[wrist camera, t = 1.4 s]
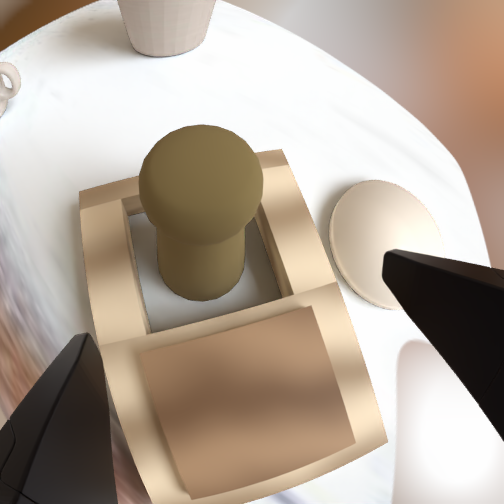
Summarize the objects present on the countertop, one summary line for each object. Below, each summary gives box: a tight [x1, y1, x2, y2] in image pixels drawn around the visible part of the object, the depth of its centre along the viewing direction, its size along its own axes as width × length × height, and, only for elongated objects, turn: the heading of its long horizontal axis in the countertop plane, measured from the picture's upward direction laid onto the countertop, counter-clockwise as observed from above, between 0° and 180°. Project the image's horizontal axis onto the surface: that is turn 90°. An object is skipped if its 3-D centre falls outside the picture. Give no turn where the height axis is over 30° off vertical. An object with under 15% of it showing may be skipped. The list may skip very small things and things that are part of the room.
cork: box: [138, 125, 264, 301], centre depth 16 cm, size 6×6×11 cm
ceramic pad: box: [329, 180, 445, 310], centre depth 24 cm, size 11×11×1 cm
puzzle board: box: [79, 149, 388, 504], centre depth 18 cm, size 22×15×3 cm
